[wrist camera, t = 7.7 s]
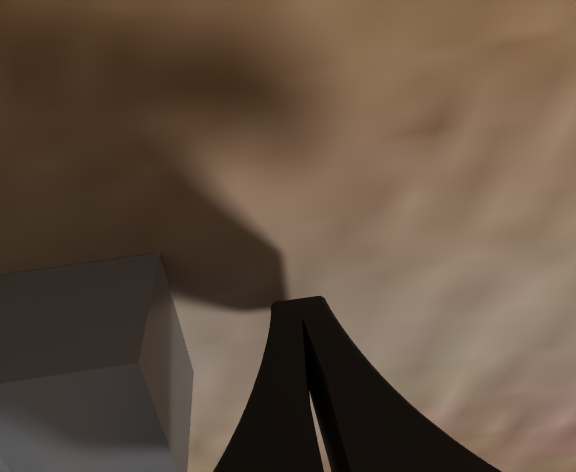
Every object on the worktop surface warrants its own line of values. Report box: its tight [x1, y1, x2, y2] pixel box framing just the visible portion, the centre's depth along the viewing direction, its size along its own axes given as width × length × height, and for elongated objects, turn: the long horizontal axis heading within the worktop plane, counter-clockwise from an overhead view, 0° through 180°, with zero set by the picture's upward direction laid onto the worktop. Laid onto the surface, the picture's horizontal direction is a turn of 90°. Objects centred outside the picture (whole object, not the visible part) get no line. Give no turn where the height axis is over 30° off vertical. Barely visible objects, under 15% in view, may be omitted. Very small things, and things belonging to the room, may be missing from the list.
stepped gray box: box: [0, 253, 193, 472], centre depth 12 cm, size 4×7×5 cm, turn 95°
